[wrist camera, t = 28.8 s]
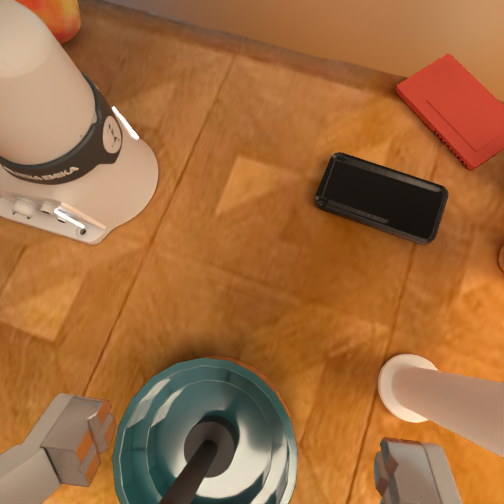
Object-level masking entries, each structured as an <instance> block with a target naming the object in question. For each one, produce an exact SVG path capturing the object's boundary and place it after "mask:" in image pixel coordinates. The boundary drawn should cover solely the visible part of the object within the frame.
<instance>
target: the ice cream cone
mask: <svg viewBox="0 0 504 504" xmlns="http://www.w3.org/2000/svg"><path fill="white" fill-rule="evenodd" d="M498 261H499V266H500V268H501V270H502V272H504V245H503V247H502V249H501V250H500V253H499V258H498Z"/></svg>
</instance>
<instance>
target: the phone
mask: <svg viewBox="0 0 504 504" xmlns="http://www.w3.org/2000/svg"><path fill="white" fill-rule="evenodd" d="M447 199H448V191H447V189H446V188H445V187H443V186H441V185H439V184H435V183H432V182H429V181H426V180H423V179H420V178H417V177H414V176H411V175H408V174H405V173H402V172H399V171H396V170H393V169H390V168H387V167H384V166H381V165H378V164H375V163H372V162H369V161H366V160H363V159H360V158H357V157H354V156H351V155H347V154H344V153H341V152H338V153H335V154H333V155H332V156H331V158H330V161H329V163H328V166H327V168H326V171H325V173H324V176H323V178H322V181H321V183H320V186H319V188H318V191H317V193H316V196H315V204H316V206H317V207H318V208H320V209H322V210H325V211H328V212H331V213H334V214H336V215H339V216H342V217H345V218H348V219H350V220H353V221H356V222H359V223H362V224H364V225H367V226H370V227H373V228H375V229H378V230H381V231H384V232H387V233H389V234H392V235H395V236H398V237H401V238H403V239H406V240H409V241H412V242H415V243H417V244H421V245H426V244H428V243H430V242H431V241H433V240H434V239H435V237H436V234H437V231H438V228H439V224H440V221H441V218H442V215H443V212H444V209H445V205H446V202H447Z"/></svg>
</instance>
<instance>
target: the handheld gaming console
mask: <svg viewBox="0 0 504 504" xmlns="http://www.w3.org/2000/svg"><path fill="white" fill-rule="evenodd" d="M395 91H396V93H397V94H398V95H399V96H400V97H401V98H402V99H403V100H404V102H405V103H406V104H407V105H408V106H409V107H410V108H411V109H412V110H413V111H414V112H415V113H416V114H417V115H418V116H419V118H420V119H421V120H422V121H423V122H424V123H425V124H426V125H427V126H428V127H429V128H430V129H431V130H432V131H434V130H435V131H436V133H435V135H437V134H438V135H439V137H438V138H439V139H440V138H442V142H444V141H445V142H446V144H445V145H446V146H447V145H449V146H450V147H449V150H451V149H452V150H453V151H452V153H453V154H454V153H456V157H458V156H459V157H460V159H459V160H460V161H461V160H463V161H464V162H463V165H465V164H466V165H467V167H466V168H468V169H470V170H473V169H475V168H476V167H478V166H479V165H481V164H483V163H484V162H486V161H487V160H489V159H490V158H492V157H493V156H495V155H496V154H498V153H499V152H501V151H502V150H504V106H503V105H502V104H501V103H500V102H499V101H498V100H497V99H496V98H495V97H494V96H493V95H492V94H491V93H490V92H489V91H488V90H487V89H486V88H485V87H484V86H483V85H482V84H481V83H480V82H479V81H478V80H476V79H475V78H474V77H473V76H472V75H471V74H470V73H469V72H468V71H467V70H466V69H465V68H464V67H463V66H462V65H461V64H460V63H459V62H458V61H457V60H456V59H455V58H454V57H453V56H452V55H450V54H446V55H445V56H443V57H441V58H440V59H438V60H436V61H435V62H433V63H432V64H430V65H428V66H427V67H425V68H424V69H422V70H420V71H419V72H417V73H416V74H414V75H412V76H411V77H409V78H408V79H406V80H404V81H403V82H401V83H399V84H398V85H397V87H396V89H395Z"/></svg>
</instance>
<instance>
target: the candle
mask: <svg viewBox="0 0 504 504" xmlns="http://www.w3.org/2000/svg"><path fill="white" fill-rule="evenodd" d="M378 392H379V395H380V398H381V400H382V402H383V404H384V405H385V407H386V408H387V409H388V410H389V411H390V412H391V413H392V414H393V415H395V416H396V417H398V418H400V419H402V420H404V421H408V422H415V423H417V422H424V421H427V420H430V421H432V422H434V423H436V424H438V425H440V426H442V427H444V428H446V429H448V430H450V431H452V432H454V433H456V434H458V435H460V436H461V437H463V438H465V439H467V440H469V441H471V442H473V443H475V444H477V445H479V446H481V447H483V448H485V449H487V450H489V451H491V452H493V453H495V454H497V455H499V456H500V457H502V458H504V383H502V382H496V381H491V380H486V379H480V378H475V377H469V376H464V375H458V374H453V373H447V372H442V371H438V369H437V368H436V367H435V366H434V365H433V364H432V363H431V362H430V361H428V360H427V359H425V358H423V357H421V356H418V355H414V354H400V355H397V356H394V357H392V358H391V359H389V360H388V361H387V362H386V363H385V364H384V365H383V367H382V368H381V370H380V373H379V376H378Z"/></svg>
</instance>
